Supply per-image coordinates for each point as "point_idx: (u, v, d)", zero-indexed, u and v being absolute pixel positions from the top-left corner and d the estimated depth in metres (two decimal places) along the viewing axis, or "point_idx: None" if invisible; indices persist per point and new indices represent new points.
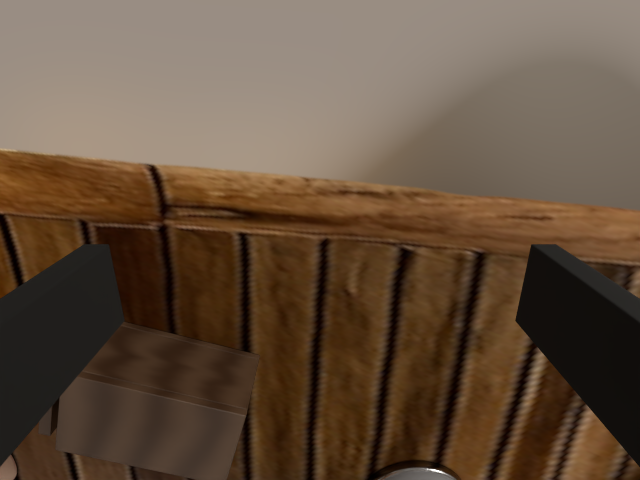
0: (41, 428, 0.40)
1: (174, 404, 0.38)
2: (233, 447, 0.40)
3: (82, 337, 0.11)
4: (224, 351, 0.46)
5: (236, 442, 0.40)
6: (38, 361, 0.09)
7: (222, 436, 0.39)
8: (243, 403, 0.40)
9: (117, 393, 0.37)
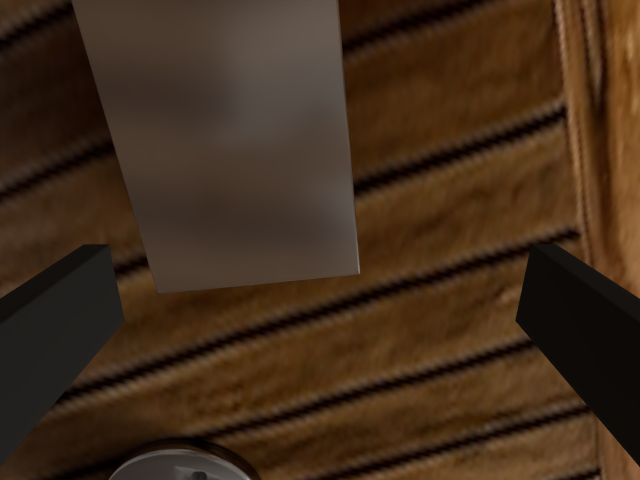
0: None
1: (334, 129, 0.17)
2: (269, 278, 0.19)
3: (82, 337, 0.11)
4: None
5: (284, 279, 0.19)
6: (38, 360, 0.09)
7: (289, 250, 0.18)
8: None
9: None
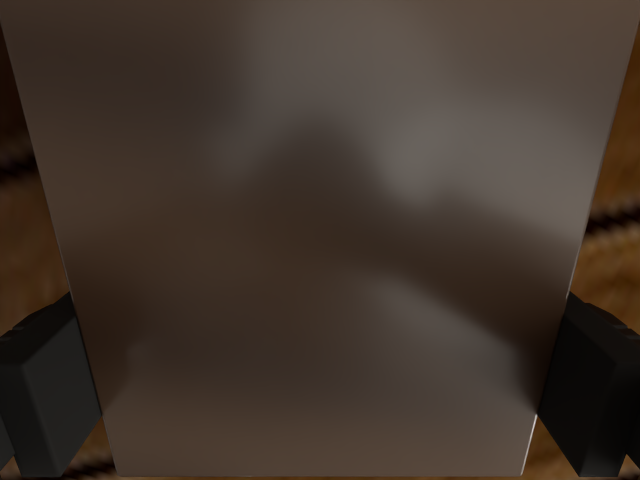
0: None
1: (559, 209, 0.07)
2: (345, 470, 0.10)
3: None
4: None
5: (374, 473, 0.10)
6: None
7: (396, 428, 0.09)
8: None
9: None
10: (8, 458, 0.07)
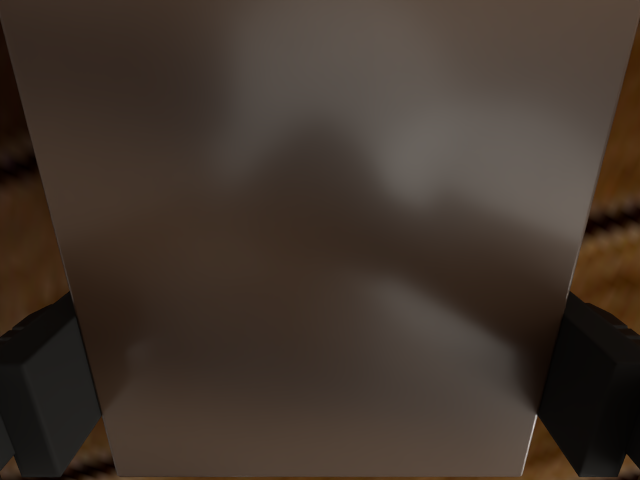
0: None
1: (559, 209, 0.07)
2: (345, 470, 0.10)
3: None
4: None
5: (374, 473, 0.10)
6: None
7: (396, 428, 0.09)
8: None
9: None
10: (7, 458, 0.07)
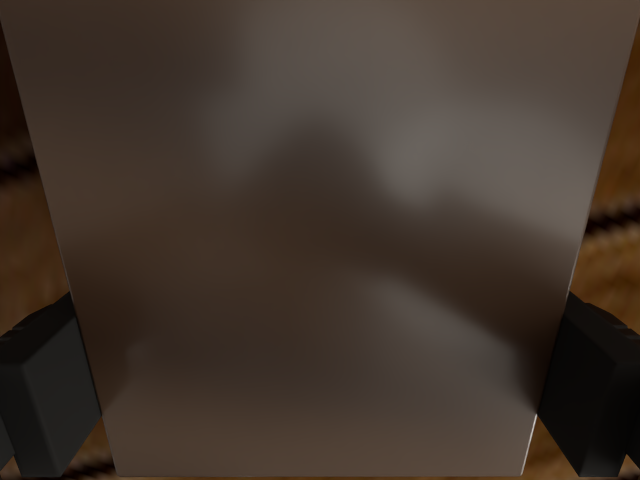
0: None
1: (559, 209, 0.07)
2: (345, 470, 0.10)
3: None
4: None
5: (374, 473, 0.10)
6: None
7: (396, 428, 0.09)
8: None
9: None
10: (7, 458, 0.07)
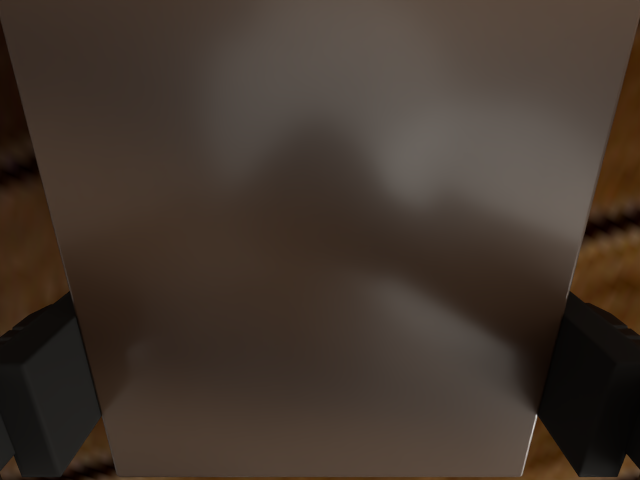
0: None
1: (559, 209, 0.07)
2: (344, 470, 0.10)
3: None
4: None
5: (374, 473, 0.10)
6: None
7: (396, 428, 0.09)
8: None
9: None
10: (7, 458, 0.07)
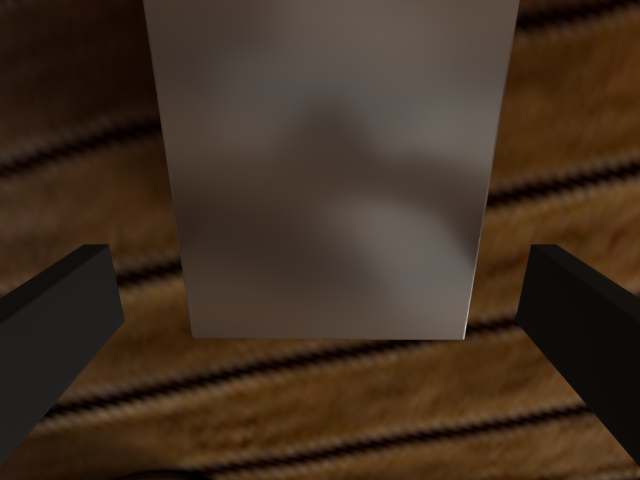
0: None
1: (475, 149, 0.12)
2: (344, 333, 0.14)
3: (82, 337, 0.11)
4: None
5: (364, 336, 0.14)
6: (38, 361, 0.09)
7: (378, 301, 0.14)
8: None
9: None
10: None
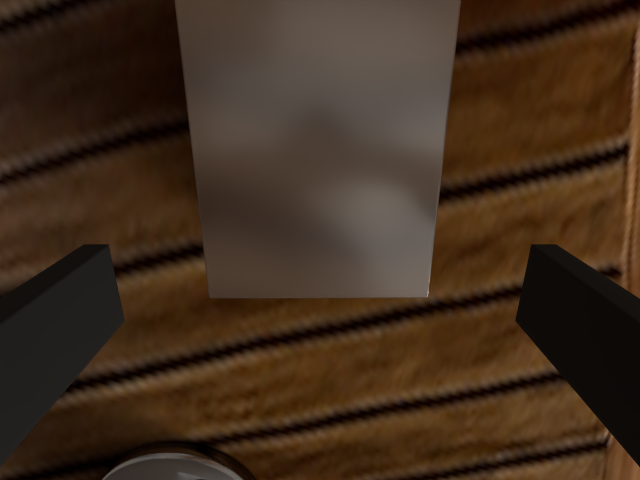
0: None
1: (430, 144, 0.15)
2: (331, 293, 0.18)
3: (82, 337, 0.11)
4: None
5: (347, 295, 0.18)
6: (38, 361, 0.09)
7: (358, 266, 0.17)
8: None
9: None
10: None
